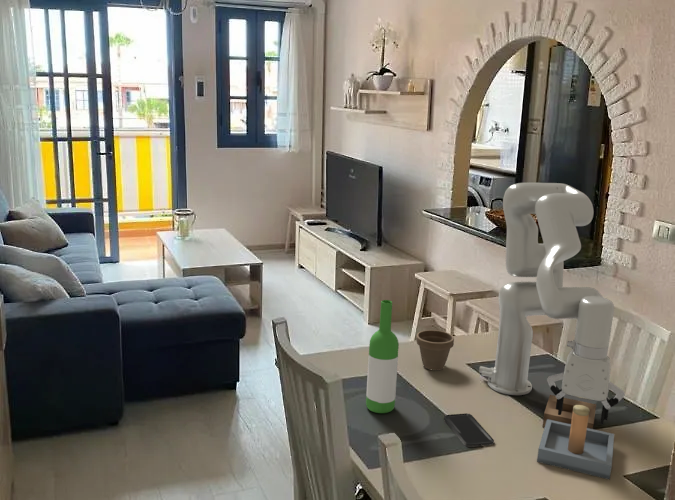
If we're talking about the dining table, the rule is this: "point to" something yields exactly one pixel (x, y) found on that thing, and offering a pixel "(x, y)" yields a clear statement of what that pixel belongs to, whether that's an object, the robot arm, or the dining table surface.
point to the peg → (578, 429)
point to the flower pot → (434, 348)
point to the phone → (468, 430)
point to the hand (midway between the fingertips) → (580, 417)
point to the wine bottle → (382, 364)
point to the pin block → (567, 411)
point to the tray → (589, 462)
